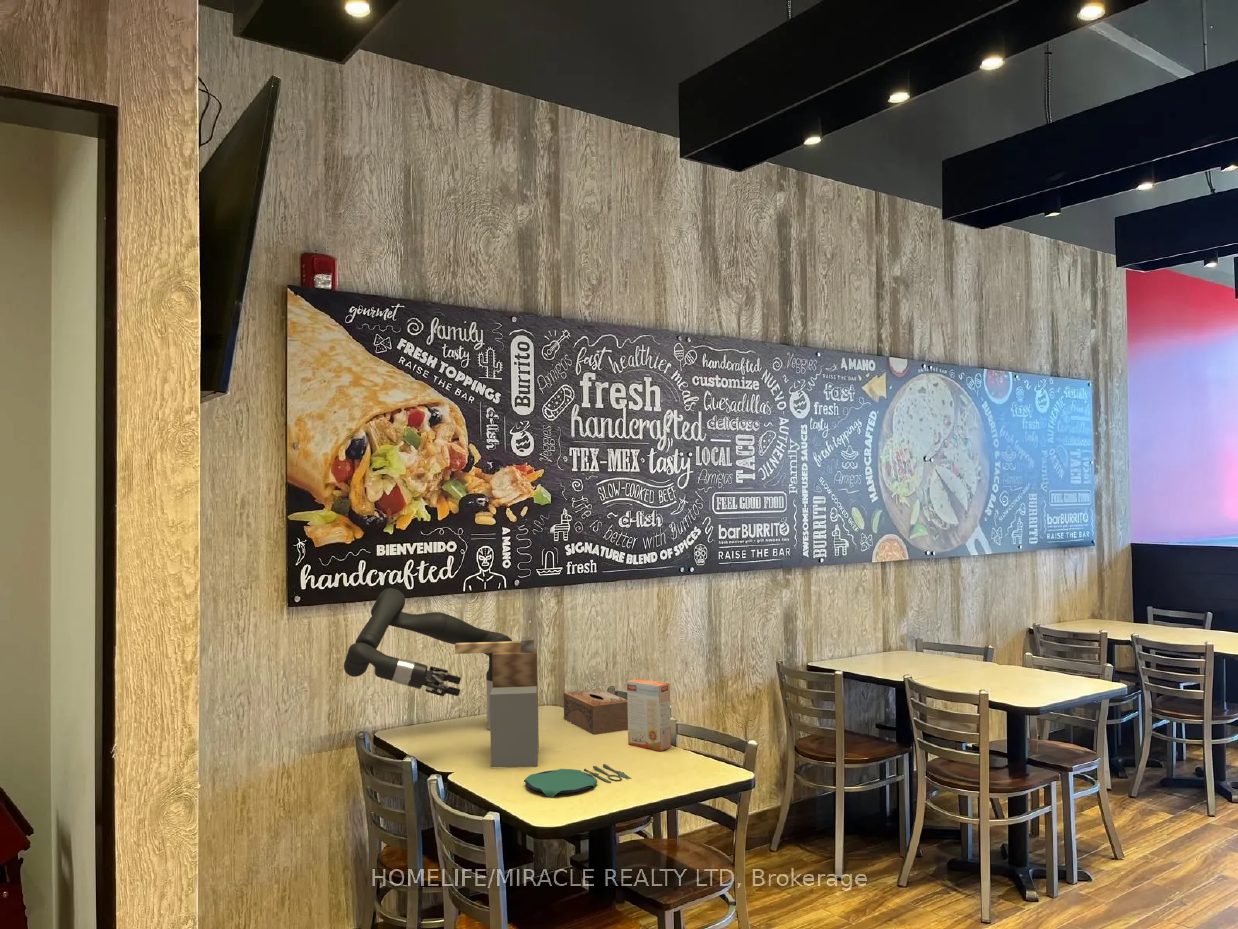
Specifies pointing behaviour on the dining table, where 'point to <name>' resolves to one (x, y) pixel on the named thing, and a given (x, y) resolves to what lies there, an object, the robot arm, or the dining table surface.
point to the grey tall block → (514, 727)
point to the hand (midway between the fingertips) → (459, 687)
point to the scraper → (496, 646)
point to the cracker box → (649, 714)
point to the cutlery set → (568, 780)
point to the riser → (515, 671)
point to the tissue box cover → (596, 711)
